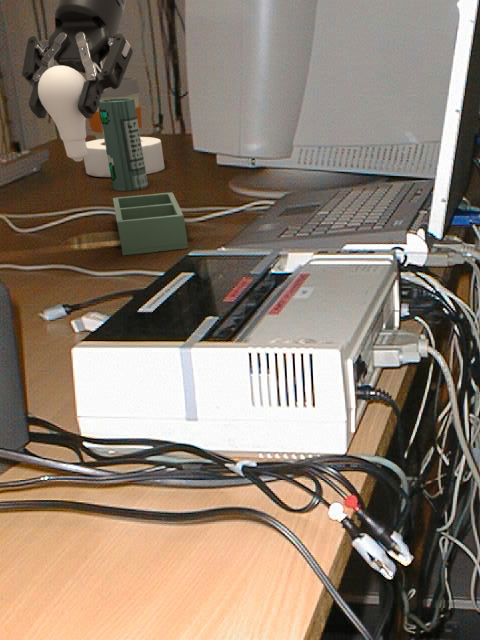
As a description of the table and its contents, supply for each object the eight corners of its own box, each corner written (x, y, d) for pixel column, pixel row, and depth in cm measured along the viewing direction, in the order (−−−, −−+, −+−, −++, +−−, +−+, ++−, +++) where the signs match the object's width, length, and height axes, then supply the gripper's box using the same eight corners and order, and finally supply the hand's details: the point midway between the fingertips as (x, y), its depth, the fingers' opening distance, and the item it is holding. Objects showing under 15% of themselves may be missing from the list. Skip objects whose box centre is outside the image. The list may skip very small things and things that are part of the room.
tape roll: (162, 161, 193) (158, 133, 191) (167, 173, 180) (163, 143, 177) (86, 167, 190) (81, 139, 187) (86, 180, 177) (80, 150, 174)
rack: (188, 248, 128) (183, 215, 126) (123, 255, 126) (116, 222, 124) (177, 222, 143) (172, 192, 141) (118, 228, 141) (112, 197, 139)
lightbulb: (60, 168, 111) (39, 69, 106) (48, 161, 116) (27, 66, 110) (109, 161, 114) (91, 64, 108) (95, 155, 119) (76, 62, 113)
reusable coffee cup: (160, 150, 206) (149, 77, 199) (114, 159, 198) (100, 83, 191) (127, 146, 213) (115, 76, 206) (81, 154, 205) (67, 81, 198)
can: (126, 183, 173) (111, 98, 165) (153, 184, 171) (139, 98, 163) (107, 190, 168) (91, 102, 160) (135, 191, 166) (120, 102, 158)
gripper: (27, -23, 113) (-9, 94, 109) (128, -28, 109) (95, 92, 105) (61, 23, 120) (29, 133, 116) (157, 19, 116) (127, 134, 112)
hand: (60, 113), depth 111 cm, fingers closed on lightbulb, 6 cm apart
